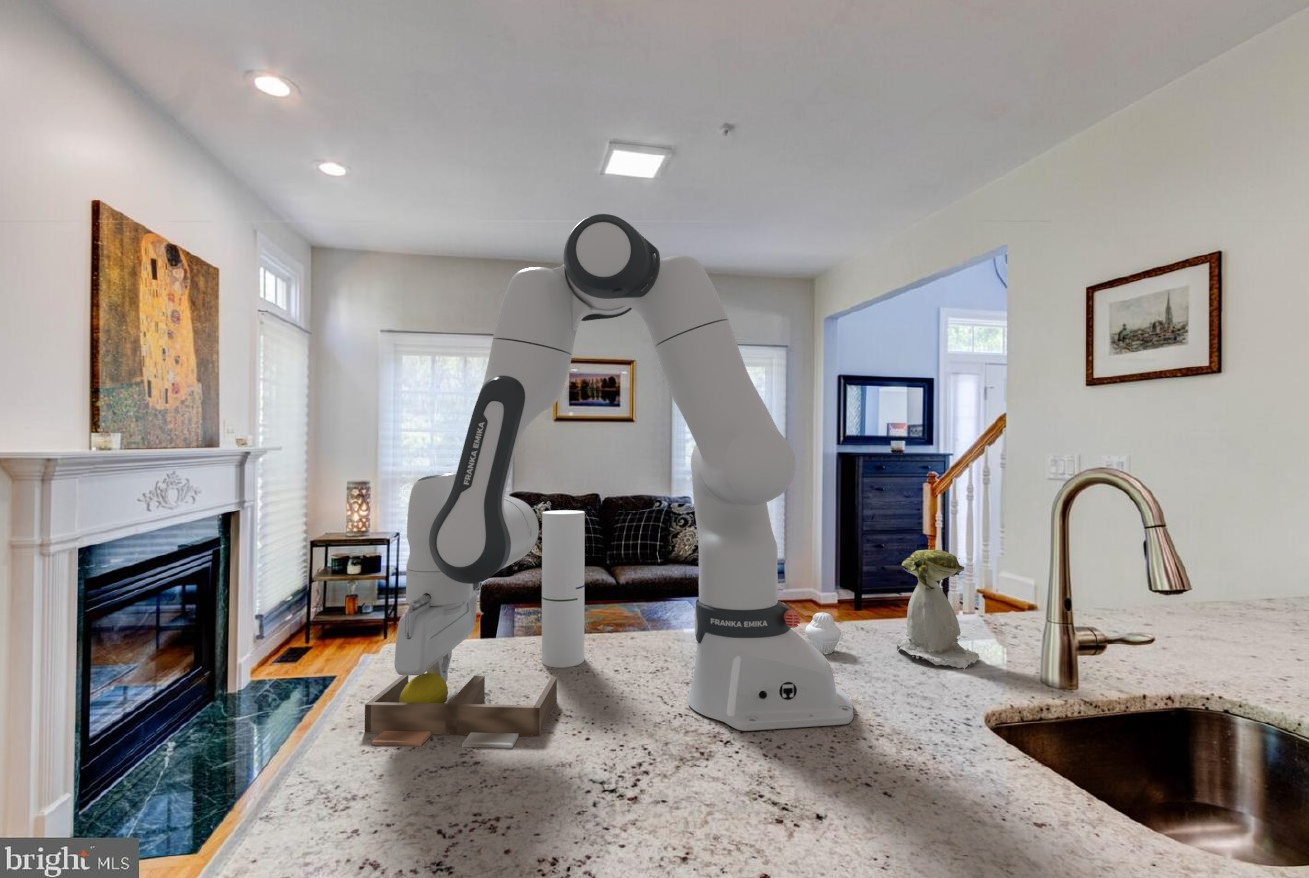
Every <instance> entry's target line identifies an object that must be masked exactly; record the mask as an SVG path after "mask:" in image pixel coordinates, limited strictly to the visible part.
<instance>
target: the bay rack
mask: <svg viewBox="0 0 1309 878" xmlns="http://www.w3.org/2000/svg"><path fill="white" fill-rule="evenodd" d="M485 680H486V677H485V675H473V677H471V679H469V681H467V683H466V684H465V685H464V686H463V687H462V688H461V689H460V690H459V691H458V692H457V694H456V695H455V696H453V698H452V699H451V700H450V701H449V702H448V703H446V702H445V703H399V698H400V695H401V692H402V691H403V689H404V688H405V686H406V685H407V684H408V683H409V675H399V677H398V678H396V679H395V680H394V681H393V682H392V683H390V684H389V685H388V686H386V687H385V688H384V689H383V690H381V691H380V692H379V693H378V694H376V695H375V696H374V697H372V698H371V699H370V700H369V701H367V702H366V703H365V704H364V734H365V733H366V734H378V735H377V736H376V737H375V738H374V739H373V740H372V741H371V745H372V746H401V747H402V746H406V747H407V746H410V747H413V746H415V747H422V745H423V744H424V743H425V742H426V741H427V740H428V739H429V737H430V736H432V735H448V736H449V735H453V736H455V735H456V736H457V735H460V736H462V735H463V736H464V735H465V736H467V737H466V738H465V739H464V741H463V742H462V743H461V745H462V747H463V748H493V749H494V748H497V749H498V748H500V749H501V748H504V749H508V748H509V749H512V748H513V747H514V746H515V744H516V742H517V740H518V739H519V737H540V736H541V734H542V732H543V731H544V728H545V726H547V725H546V724H547V723H548V721H549V719H550V717H551V714H552V712H553V710H554V708H555V707H556V705H557V703H558V692H557V691H558V677H557V676H551V677H550V679H549V680H548V682H547V683H546V685H545V687H544V688H543V690H542V692H541V694H540V696H539V697H538V699H537V701H536V702H535V704H532V705H531V704H501V703H500V704H495V703H494V704H493V703H491V704H485V703H484V702H485V699H486V698H485V697H486V696H485V694H486V693H485V691H486V690H485V689H486V688H485V687H486V686H485V685H486V683H485V682H486V681H485Z"/></svg>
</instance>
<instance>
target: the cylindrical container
mask: <svg viewBox="0 0 1309 878" xmlns="http://www.w3.org/2000/svg"><path fill="white" fill-rule="evenodd" d="M585 513H586V512H585V511H584V510H572V509H570V510H569V509H567V510H563V509H562V510H546V511H542V513H541V517H542V518H541V519H542V521H541V523H542V524H541V532H542V533H541V535H542V536H541V537H542V538H541V539H542V540H541V541H542V542H541V546H542V547H541V568H542V569H541V663H542V664H543V665H544V666H547V667H549V668H571V667H575V666H578V665H581V664H583V663H584V661H585V582H586V581H585V575H586V574H585V571H586V570H585V561H586V559H585V557H586V555H585V554H586V553H585V549H586V547H585V545H586V544H585V539H586V538H585V537H586V536H585V535H586V534H585V533H586V530H585V527H586V526H585V525H586V523H585V520H586V518H585V517H586V515H585Z"/></svg>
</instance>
